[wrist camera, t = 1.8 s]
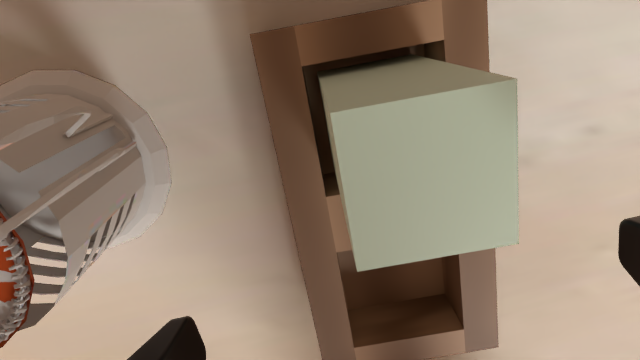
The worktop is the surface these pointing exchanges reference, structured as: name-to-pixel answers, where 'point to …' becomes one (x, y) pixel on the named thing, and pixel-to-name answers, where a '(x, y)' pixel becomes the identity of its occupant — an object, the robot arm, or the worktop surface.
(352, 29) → the pocket holder
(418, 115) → the green block
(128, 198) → the french press
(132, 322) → the worktop surface
